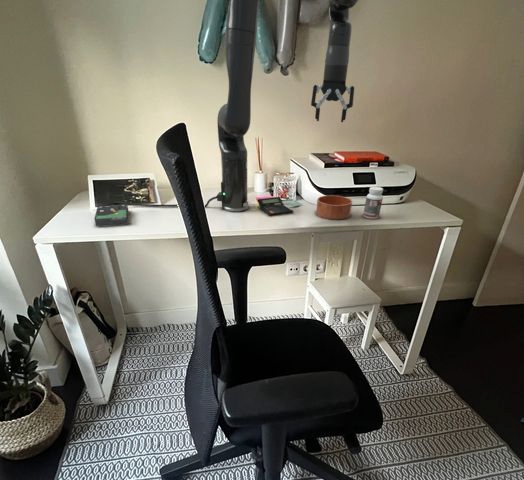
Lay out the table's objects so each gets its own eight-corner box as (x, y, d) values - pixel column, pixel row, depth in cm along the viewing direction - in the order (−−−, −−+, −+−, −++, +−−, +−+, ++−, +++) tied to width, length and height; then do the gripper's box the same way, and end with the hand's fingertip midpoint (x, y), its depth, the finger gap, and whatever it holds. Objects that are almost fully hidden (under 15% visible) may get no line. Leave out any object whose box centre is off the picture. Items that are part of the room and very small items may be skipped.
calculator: (270, 216, 133) (270, 207, 131) (257, 206, 142) (257, 198, 140) (292, 213, 136) (293, 205, 135) (278, 204, 145) (279, 196, 143)
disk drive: (98, 213, 132) (96, 227, 120) (96, 205, 130) (94, 218, 119) (128, 211, 134) (129, 224, 123) (127, 203, 132) (127, 216, 121)
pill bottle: (379, 219, 133) (385, 191, 127) (363, 218, 134) (368, 189, 127) (378, 215, 137) (384, 186, 131) (362, 213, 138) (368, 185, 132)
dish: (315, 218, 132) (317, 204, 129) (316, 207, 142) (318, 194, 139) (350, 220, 131) (353, 206, 128) (349, 210, 141) (351, 196, 138)
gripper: (357, 64, 122) (349, 121, 132) (315, 63, 124) (310, 119, 134) (359, 64, 116) (350, 123, 126) (314, 63, 118) (309, 121, 128)
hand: (329, 121), depth 130 cm, fingers open, 8 cm apart
